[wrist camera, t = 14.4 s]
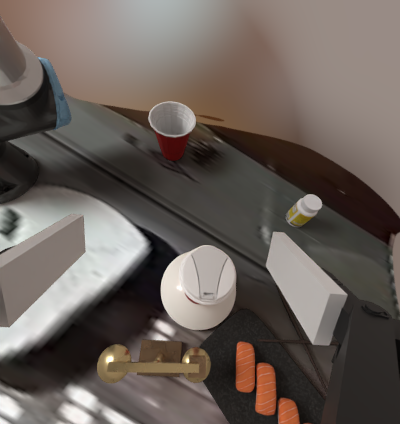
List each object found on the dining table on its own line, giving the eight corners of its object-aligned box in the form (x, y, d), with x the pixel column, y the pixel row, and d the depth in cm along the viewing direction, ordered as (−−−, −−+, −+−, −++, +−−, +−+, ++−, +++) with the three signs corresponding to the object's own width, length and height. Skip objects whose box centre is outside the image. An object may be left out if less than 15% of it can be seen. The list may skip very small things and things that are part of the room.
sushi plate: (186, 355, 39) (187, 357, 36) (292, 258, 50) (300, 253, 46) (310, 551, 30) (327, 580, 26) (408, 382, 40) (429, 387, 37)
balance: (111, 372, 36) (83, 391, 26) (117, 337, 39) (95, 343, 28) (205, 376, 37) (216, 397, 27) (206, 343, 40) (216, 349, 29)
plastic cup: (165, 174, 56) (162, 140, 46) (146, 147, 60) (140, 108, 49) (200, 160, 60) (205, 124, 49) (180, 134, 63) (181, 96, 53)
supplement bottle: (307, 223, 53) (328, 207, 46) (293, 230, 52) (312, 215, 45) (295, 207, 55) (314, 189, 48) (281, 214, 54) (297, 197, 46)
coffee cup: (219, 312, 41) (239, 306, 28) (176, 309, 41) (176, 302, 27) (219, 268, 45) (237, 244, 32) (180, 265, 45) (182, 239, 31)
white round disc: (155, 327, 40) (155, 327, 39) (166, 249, 47) (165, 247, 46) (235, 332, 41) (237, 332, 40) (234, 255, 48) (235, 253, 47)
